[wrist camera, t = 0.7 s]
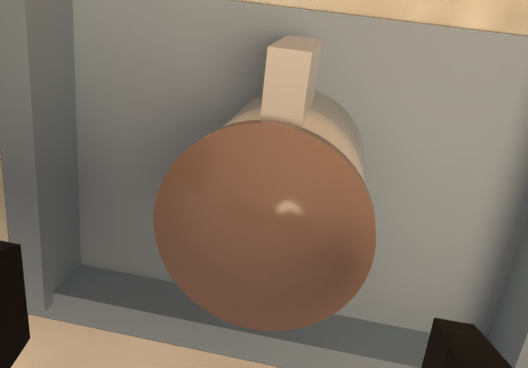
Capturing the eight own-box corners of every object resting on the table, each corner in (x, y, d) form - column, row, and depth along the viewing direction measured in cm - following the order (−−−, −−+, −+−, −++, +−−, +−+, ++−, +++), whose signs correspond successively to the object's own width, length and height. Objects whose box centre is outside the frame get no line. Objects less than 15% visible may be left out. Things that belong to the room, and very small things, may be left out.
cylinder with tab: (393, 44, 15) (414, 72, 10) (355, 236, 18) (354, 349, 12) (229, 23, 16) (158, 38, 10) (214, 212, 18) (150, 308, 13)
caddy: (632, 22, 14) (698, 29, 12) (506, 368, 19) (531, 431, 16) (44, -45, 17) (-19, -54, 14) (60, 279, 21) (16, 321, 19)
